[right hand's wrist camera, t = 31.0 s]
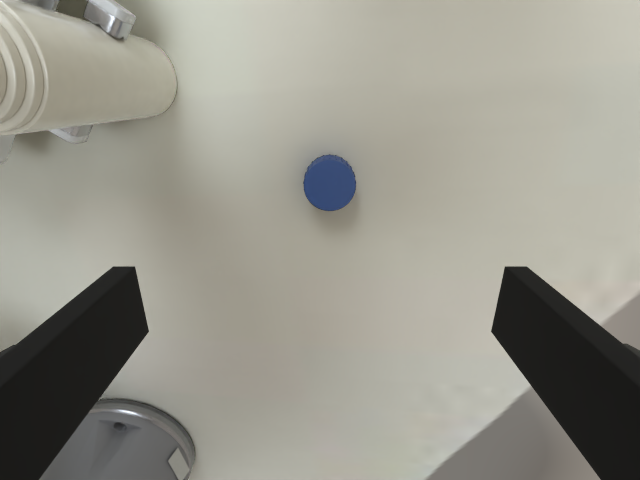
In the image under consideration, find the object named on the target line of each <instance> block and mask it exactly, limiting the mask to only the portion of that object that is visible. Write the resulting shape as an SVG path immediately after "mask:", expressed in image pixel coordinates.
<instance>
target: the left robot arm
mask: <svg viewBox="0 0 640 480" xmlns="http://www.w3.org/2000/svg"><path fill="white" fill-rule="evenodd" d="M21 1H24V2H27V3H31V4H34V5H37V6H40V7H44V8H47V9H50V10H53V11H56V9H57V5H58V2H59V0H21ZM87 1H88V3H87V6H86V9H85V12H84V15H83V17H85V18H86V19H88V20H89V21H91V22H92V23H93V24H95V25H99V26H101V28H102V30H104V31H105V32H107V33H108V34H110V35H112V36H114V37H116V38H119V39H120V38H122V39H123V40H127V38H128V36H129V34H130V31H131V29H132V27H133V25H134V22H135V20H136V16H135V15H134V14H133V13H131V12H130V11H128V10H127V9H125V8H124V7H123V6H121V5H120V4H118V3H117V2H115V1H114V0H87ZM92 126H93V125H85V126H78V127H70V128H62V129H54V130H48V131H50V132H52V133H53V134H55V135H57V136H59V137H60V138H62V139H64V140H65V141H67V142H70V143H75V144H77V143H82V142H86V141H87V138H88V136H89V133H90V131H91V128H92ZM15 135H16V134H15ZM15 135H8V136H0V165H1V164H3V163H5V162H6V161H7V159H8V157H9V154H10V150H11V147H12V144H13V141H14V138H15Z"/></svg>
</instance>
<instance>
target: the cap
mask: <svg viewBox="0 0 640 480" xmlns="http://www.w3.org/2000/svg"><path fill="white" fill-rule="evenodd" d="M354 177H355V175H354V172H353V171H352V168H351V166H350V165H349V164H348V162H347V161H345V160H344V159H342V157H341V158H340V157H338V156H336V155H335V156H334V155H326V156H324V155H323V156H322V157H319V158H317V159H316V160H315V161H312V163H311V165H310V166H308V169H307V172H306V173H305V179H304V183H303V184H304V191H305V194H306V197H307V199H308V200H309V201H310V202H311V204H313V205H314V206H315V207H317V208H319V209H321V210H325V211H334V210H338V209H340V208H342V207H344V206H345V205H347V204H348V203H349V202H350V200H351V199H352V197H353V195H354V193H355V188H356V181H355V178H354Z"/></svg>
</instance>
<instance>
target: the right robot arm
mask: <svg viewBox="0 0 640 480" xmlns="http://www.w3.org/2000/svg"><path fill="white" fill-rule="evenodd" d="M148 332H149V330H148V326H147V321H146V316H145V312H144V307H143V302H142V298H141V293H140V288H139V284H138V279H137V274H136V269H135V267H112V268H111V269H110V270H108V271H107V272H106V273H105V274H104V275H102V276H101V277H100V278H99V279H97V280H96V281H95V282H94V283H92V284H91V285H90V286H89V287H87V288H86V289H85V290H84V291H82V292H81V293H80V294H79V295H77V296H76V297H75V298H74V299H72V300H71V301H70V302H69V303H67V304H66V305H65V306H64V307H62V308H61V309H60V310H59V311H58V312H56V313H55V314H54V315H53V316H51V317H50V318H49V319H48V320H46V321H45V322H44V323H43V324H41V325H40V326H39V327H38V328H36V329H35V330H34V331H33V332H31V333H30V334H29V335H28V336H26V337H25V338H24V339H23V340H21V341H20V342H19V343H18V344H17V345H13V346H11V347H9V348H7V349H5V350H3V351H1V352H0V480H188V478H189V475H190V472H191V470H192V467H193V464H194V460H195V450H194V446H193V443H192V441H191V438H190V437H189V435H188V433H187V432H186V431H185V430H184V428H183V427H182V426H181V425H180V424H179V423H178V422H177V421H175V420H174V419H173V418H171V417H170V416H169V415H167V414H165V413H164V412H162V411H160V410H158V409H156V408H154V407H151V406H149V405H146V404H142V403H139V402H135V401H129V400H120V399H110V400H101V401H98V399H99V398H100V397H101V395H102V394H103V393H104V391H105V390H106V389H107V387H108V386H109V385H110V383H111V382H112V380H113V379H114V378H115V376H116V375H117V374H118V372H119V371H120V370H121V368H122V367H123V366H124V364H125V363H126V362H127V360H128V359H129V358H130V356H131V355H132V353H133V352H134V351H135V349H136V348H137V347H138V345H139V344H140V343H141V341H142V340H143V339H144V337H145V336H146V335H147V333H148ZM491 332H492V333H493V335H494V336H495V337H496V339H497V340H498V341H499V343H500V344H501V345H502V347H503V348H504V349H505V351H506V352H507V353H508V355H509V356H510V358H511V359H512V360H513V362H514V363H515V364H516V366H517V367H518V368H519V370H520V371H521V372H522V374H523V375H524V376H525V378H526V379H527V380H528V382H529V383H530V385H531V386H532V387H533V389H534V390H535V391H536V393H537V394H538V395H539V397H540V398H541V399H542V401H543V402H544V403H545V405H546V406H547V407H548V409H549V410H550V411H551V413H552V414H553V415H554V417H555V418H556V420H557V421H558V422H559V424H560V425H561V426H562V428H563V429H564V430H565V432H566V433H567V434H568V436H569V437H570V439H571V440H572V441H573V443H574V444H575V445H576V447H577V448H578V449H579V451H580V452H581V453H582V455H583V456H584V457H585V459H586V460H587V461H588V463H589V464H590V466H591V467H592V468H593V470H594V471H595V472H596V474H597V475H598V476H599V478H600V479H601V480H640V350H638V349H636V348H634V347H632V346H630V345H628V344H622V343H621V342H620V341H618V340H617V339H616V338H615V337H614V336H612V335H611V334H610V333H609V332H607V331H606V330H605V329H604V328H602V327H601V326H600V325H599V324H597V323H596V322H595V321H594V320H592V319H591V318H590V317H589V316H587V315H586V314H585V313H584V312H582V311H581V310H580V309H579V308H577V307H576V306H575V305H574V304H573V303H571V302H570V301H569V300H568V299H566V298H565V297H564V296H563V295H561V294H560V293H559V292H558V291H556V290H555V289H554V288H553V287H551V286H550V285H549V284H548V283H546V282H545V281H544V280H543V279H541V278H540V277H539V276H538V275H536V274H535V273H534V272H533V271H532V270H530V269H529V268H528V267H505V269H504V274H503V279H502V284H501V288H500V293H499V298H498V302H497V307H496V312H495V316H494V321H493V326H492V330H491Z"/></svg>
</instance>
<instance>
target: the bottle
mask: <svg viewBox="0 0 640 480" xmlns="http://www.w3.org/2000/svg"><path fill="white" fill-rule="evenodd" d="M176 90H177V79H176V74H175V70H174V67H173V65H172V63H171V61H170V59H169V58H168V56H167V55H166V54H165V52H164V51H163V50H162V49H161V48H160V47H159V46H157V45H156V44H155V43H153V42H151V41H150V40H147V39H145V38H142V37H139V36H135V35H132V34H129V36H128V38H127V40H123V39H122V38H120V39H119V38H116V37H114V36H112V35H110V34H108V33H107V32H105V31H104V30H102V28H101V26H99V25H95V24H93V23H92V22H89V21H86V20H83V19H80V18H76V17H73V16H70V15H67V14H63V13H60V12H57V11H53V10H50V9H47V8H44V7H40V6H37V5H34V4H31V3H27V2H24V1H21V0H0V136H8V135H15V134H23V133H31V132H39V131H47V130H54V129H62V128H70V127H78V126H85V125H93V124H101V123H109V122H117V121H124V120H132V119H140V118H148V117H154V116H157V115H160V114H162V113H163V112H165V111H166V110H167V109H168V108H169V107H170V105H171V104H172V102H173V100H174V98H175V95H176Z"/></svg>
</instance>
